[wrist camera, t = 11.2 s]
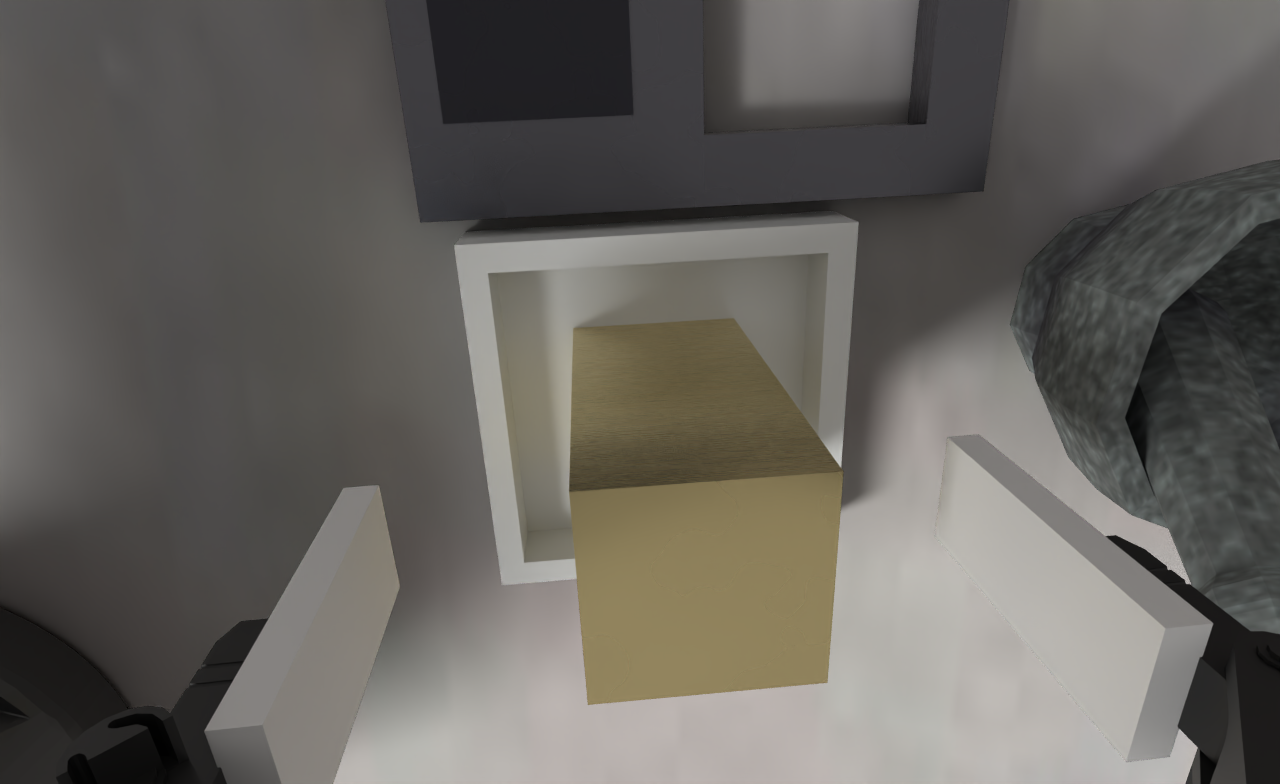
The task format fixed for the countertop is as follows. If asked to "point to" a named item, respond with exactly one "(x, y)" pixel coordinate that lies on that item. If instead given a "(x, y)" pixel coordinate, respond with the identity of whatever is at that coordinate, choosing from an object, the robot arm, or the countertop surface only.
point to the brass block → (696, 516)
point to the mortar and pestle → (1174, 371)
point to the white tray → (636, 294)
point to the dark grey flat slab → (659, 112)
